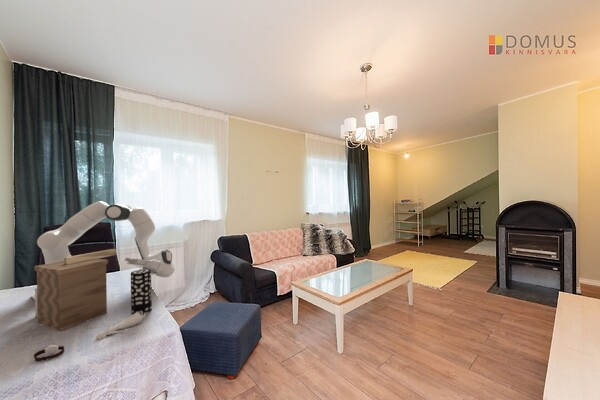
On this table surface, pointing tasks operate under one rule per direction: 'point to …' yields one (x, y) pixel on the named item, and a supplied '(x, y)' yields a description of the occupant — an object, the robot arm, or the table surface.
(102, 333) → the woman figurine
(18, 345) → the table surface
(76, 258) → the rod
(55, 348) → the watch
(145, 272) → the white-spotted black cylinder
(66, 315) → the stand
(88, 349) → the table surface
